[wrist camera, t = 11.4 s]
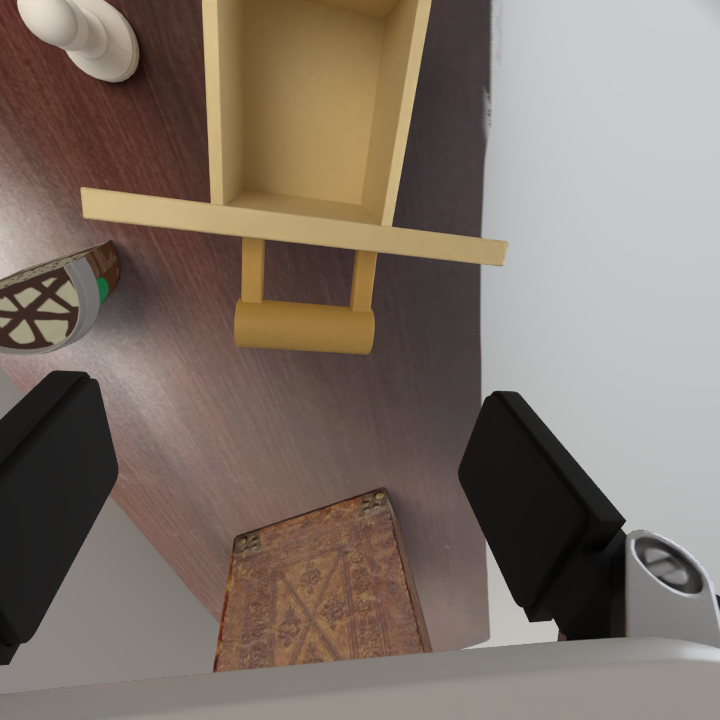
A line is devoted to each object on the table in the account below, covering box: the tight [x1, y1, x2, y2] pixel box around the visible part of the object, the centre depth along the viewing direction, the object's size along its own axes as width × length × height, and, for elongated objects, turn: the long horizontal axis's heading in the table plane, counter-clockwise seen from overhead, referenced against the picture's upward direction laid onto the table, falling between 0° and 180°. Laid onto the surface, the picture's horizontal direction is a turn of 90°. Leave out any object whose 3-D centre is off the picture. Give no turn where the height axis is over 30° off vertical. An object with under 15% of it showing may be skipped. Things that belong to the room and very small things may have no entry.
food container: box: [0, 240, 121, 356], centre depth 34 cm, size 12×6×10 cm, turn 106°
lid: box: [81, 187, 508, 354], centre depth 20 cm, size 16×13×5 cm
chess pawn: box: [17, 0, 139, 82], centre depth 26 cm, size 5×5×9 cm
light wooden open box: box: [202, 0, 432, 227], centre depth 28 cm, size 16×13×12 cm
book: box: [213, 488, 433, 673], centre depth 49 cm, size 25×9×30 cm, turn 108°
